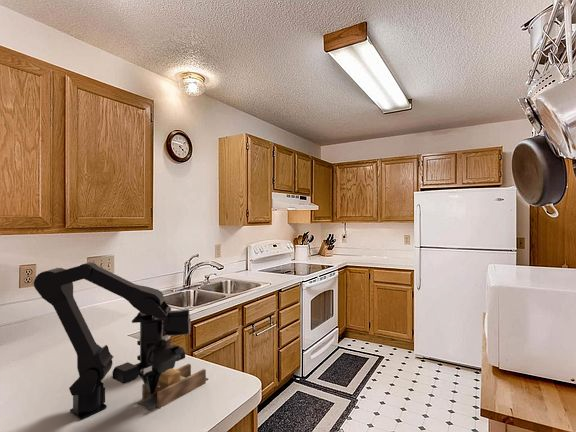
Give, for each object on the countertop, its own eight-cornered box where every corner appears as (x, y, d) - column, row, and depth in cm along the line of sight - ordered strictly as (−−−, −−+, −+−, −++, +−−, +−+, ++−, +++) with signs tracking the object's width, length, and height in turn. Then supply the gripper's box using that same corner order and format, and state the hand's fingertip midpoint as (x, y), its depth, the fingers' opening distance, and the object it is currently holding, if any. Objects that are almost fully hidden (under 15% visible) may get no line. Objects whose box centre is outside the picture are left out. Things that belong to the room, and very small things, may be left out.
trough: (152, 411, 84) (152, 396, 84) (135, 402, 89) (135, 387, 89) (210, 380, 101) (210, 367, 101) (193, 373, 105) (193, 361, 105)
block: (168, 391, 91) (168, 377, 91) (159, 387, 93) (159, 373, 93) (180, 385, 94) (180, 371, 94) (171, 381, 96) (171, 368, 96)
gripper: (135, 355, 76) (135, 421, 76) (197, 332, 92) (197, 387, 92) (111, 345, 83) (111, 406, 82) (173, 325, 98) (173, 377, 98)
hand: (151, 393), depth 88 cm, fingers closed
